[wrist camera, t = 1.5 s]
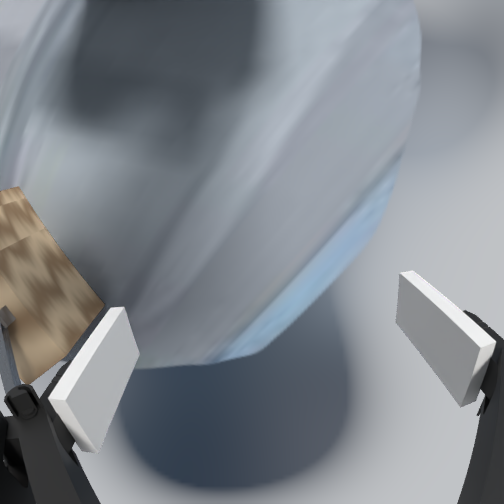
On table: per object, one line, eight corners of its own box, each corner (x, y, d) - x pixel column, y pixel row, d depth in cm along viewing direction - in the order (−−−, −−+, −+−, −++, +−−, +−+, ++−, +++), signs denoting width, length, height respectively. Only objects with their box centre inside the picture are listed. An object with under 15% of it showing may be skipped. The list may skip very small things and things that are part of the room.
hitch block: (-14, 231, 38) (-75, 260, 24) (18, 186, 36) (-52, 206, 22) (65, 337, 44) (21, 394, 30) (105, 304, 42) (59, 364, 28)
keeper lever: (-3, 326, 29) (-10, 325, 28) (6, 315, 28) (-2, 314, 27) (13, 393, 26) (4, 393, 25) (22, 385, 25) (13, 386, 24)
